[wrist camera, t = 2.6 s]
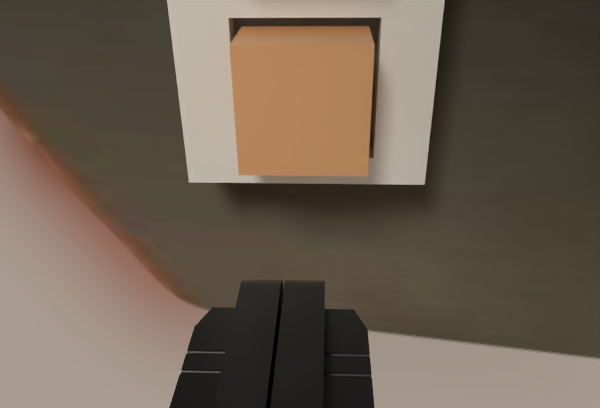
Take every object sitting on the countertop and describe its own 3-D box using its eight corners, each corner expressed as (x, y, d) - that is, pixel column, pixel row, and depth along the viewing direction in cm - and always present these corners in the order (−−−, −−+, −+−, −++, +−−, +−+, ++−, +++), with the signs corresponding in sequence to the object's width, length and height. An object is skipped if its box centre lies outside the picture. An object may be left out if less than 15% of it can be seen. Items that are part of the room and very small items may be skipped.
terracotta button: (241, 26, 21) (229, 45, 19) (369, 25, 21) (374, 45, 18) (248, 143, 24) (238, 175, 21) (363, 144, 23) (367, 176, 21)
